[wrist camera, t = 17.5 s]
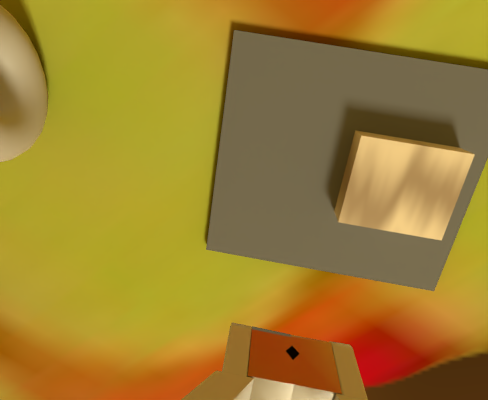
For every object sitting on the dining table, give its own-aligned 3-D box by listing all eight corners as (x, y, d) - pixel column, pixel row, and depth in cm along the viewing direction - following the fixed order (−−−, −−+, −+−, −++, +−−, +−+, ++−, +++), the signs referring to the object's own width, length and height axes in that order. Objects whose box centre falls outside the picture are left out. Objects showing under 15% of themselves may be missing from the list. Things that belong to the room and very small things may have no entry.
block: (334, 211, 26) (430, 228, 26) (338, 222, 24) (441, 240, 24) (355, 130, 24) (459, 147, 24) (361, 135, 22) (474, 154, 22)
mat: (430, 286, 28) (433, 291, 28) (207, 245, 29) (206, 249, 28) (515, 74, 23) (521, 74, 22) (235, 30, 23) (234, 29, 23)
